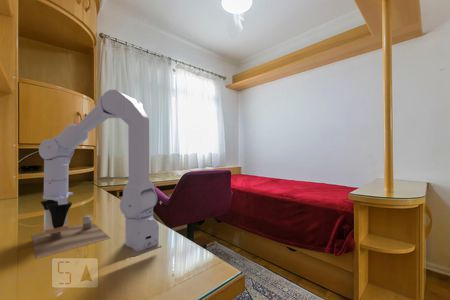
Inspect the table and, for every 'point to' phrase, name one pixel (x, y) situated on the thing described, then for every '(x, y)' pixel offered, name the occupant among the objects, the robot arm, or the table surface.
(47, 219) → the sleeve
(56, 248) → the pin board
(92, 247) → the table surface
